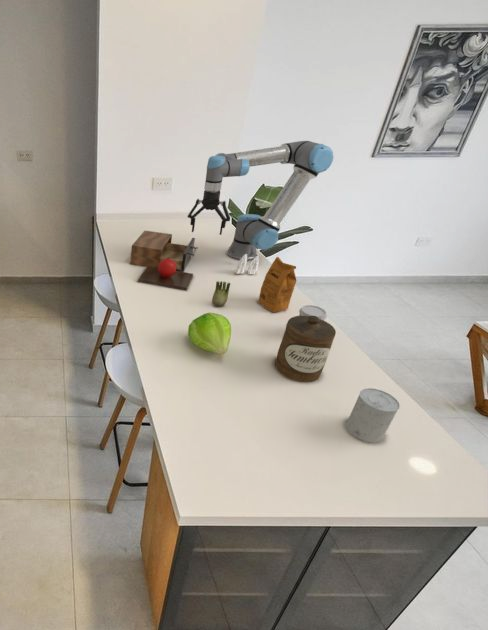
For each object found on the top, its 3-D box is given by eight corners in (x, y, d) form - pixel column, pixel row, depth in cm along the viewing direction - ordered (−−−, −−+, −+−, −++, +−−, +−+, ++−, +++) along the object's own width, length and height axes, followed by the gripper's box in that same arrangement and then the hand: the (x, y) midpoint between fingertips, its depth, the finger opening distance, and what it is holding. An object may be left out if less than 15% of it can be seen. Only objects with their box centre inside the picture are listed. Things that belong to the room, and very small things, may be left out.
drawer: (198, 255, 237) (200, 238, 232) (189, 272, 218) (192, 254, 213) (163, 250, 244) (165, 233, 239) (152, 266, 225) (154, 249, 220)
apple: (176, 274, 214) (179, 255, 209) (172, 281, 207) (175, 262, 202) (159, 271, 218) (161, 252, 212) (154, 278, 211) (156, 259, 205)
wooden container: (280, 380, 145) (297, 326, 134) (270, 354, 158) (285, 304, 146) (326, 384, 143) (348, 330, 132) (312, 358, 156) (330, 307, 144)
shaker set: (235, 276, 215) (240, 256, 209) (232, 273, 219) (236, 253, 213) (258, 274, 216) (262, 254, 210) (253, 271, 220) (258, 251, 214)
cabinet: (170, 252, 243) (172, 234, 237) (159, 269, 224) (161, 249, 218) (143, 248, 249) (144, 230, 243) (130, 264, 230) (131, 245, 224)
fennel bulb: (226, 305, 190) (231, 281, 184) (221, 309, 187) (226, 285, 181) (214, 301, 193) (219, 277, 187) (209, 305, 190) (214, 281, 184)
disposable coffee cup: (316, 332, 171) (325, 306, 164) (320, 345, 163) (329, 318, 157) (290, 328, 173) (298, 302, 167) (293, 340, 166) (301, 314, 159)
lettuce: (198, 364, 153) (204, 333, 146) (180, 334, 171) (185, 305, 164) (238, 361, 155) (246, 331, 148) (217, 331, 172) (223, 302, 165)
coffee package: (272, 298, 195) (284, 254, 184) (290, 311, 185) (304, 265, 173) (253, 300, 193) (264, 256, 182) (271, 314, 183) (283, 268, 171)
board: (192, 276, 216) (193, 273, 215) (186, 290, 202) (186, 287, 202) (147, 268, 224) (147, 266, 224) (138, 282, 211) (138, 279, 210)
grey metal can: (338, 419, 129) (352, 389, 123) (368, 417, 130) (383, 387, 123) (359, 444, 121) (375, 412, 115) (391, 441, 122) (408, 410, 115)
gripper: (240, 190, 201) (233, 232, 212) (187, 186, 209) (182, 227, 220) (239, 194, 195) (231, 237, 206) (184, 190, 203) (180, 232, 214)
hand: (206, 232), depth 213 cm, fingers open, 13 cm apart
